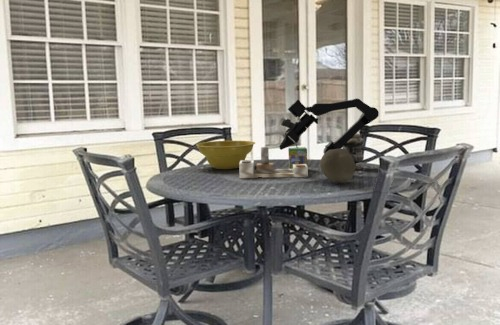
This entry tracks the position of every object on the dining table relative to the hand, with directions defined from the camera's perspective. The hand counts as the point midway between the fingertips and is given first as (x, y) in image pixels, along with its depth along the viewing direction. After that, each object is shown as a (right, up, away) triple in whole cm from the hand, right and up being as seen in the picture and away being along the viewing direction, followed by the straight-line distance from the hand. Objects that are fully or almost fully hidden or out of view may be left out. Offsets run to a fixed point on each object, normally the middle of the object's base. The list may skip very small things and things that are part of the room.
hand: (280, 148), depth 243 cm
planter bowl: (-27, -10, +35) cm, 46 cm away
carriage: (-7, -10, +2) cm, 12 cm away
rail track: (-3, -13, +2) cm, 14 cm away
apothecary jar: (+38, -10, +18) cm, 43 cm away
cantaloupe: (+23, -16, -25) cm, 38 cm away
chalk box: (+10, -11, +18) cm, 23 cm away
